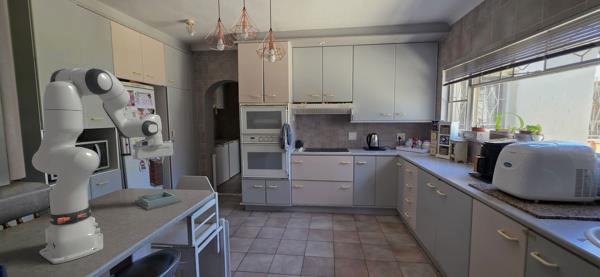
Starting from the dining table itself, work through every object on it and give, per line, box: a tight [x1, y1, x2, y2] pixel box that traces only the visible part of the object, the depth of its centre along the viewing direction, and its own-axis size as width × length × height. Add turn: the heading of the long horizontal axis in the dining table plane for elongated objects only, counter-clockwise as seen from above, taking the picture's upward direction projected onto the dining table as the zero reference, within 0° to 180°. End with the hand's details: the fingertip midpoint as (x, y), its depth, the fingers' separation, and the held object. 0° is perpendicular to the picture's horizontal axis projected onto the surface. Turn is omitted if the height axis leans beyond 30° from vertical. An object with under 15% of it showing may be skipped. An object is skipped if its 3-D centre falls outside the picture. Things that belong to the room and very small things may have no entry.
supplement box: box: [148, 158, 164, 189], centre depth 151 cm, size 9×5×16 cm, turn 48°
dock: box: [133, 190, 182, 211], centre depth 153 cm, size 22×18×4 cm
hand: (155, 165), depth 151 cm, fingers closed on supplement box, 5 cm apart
